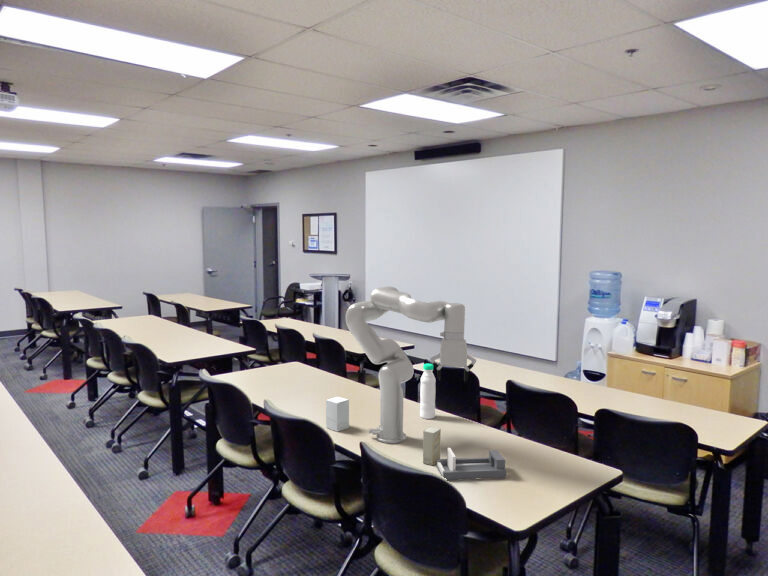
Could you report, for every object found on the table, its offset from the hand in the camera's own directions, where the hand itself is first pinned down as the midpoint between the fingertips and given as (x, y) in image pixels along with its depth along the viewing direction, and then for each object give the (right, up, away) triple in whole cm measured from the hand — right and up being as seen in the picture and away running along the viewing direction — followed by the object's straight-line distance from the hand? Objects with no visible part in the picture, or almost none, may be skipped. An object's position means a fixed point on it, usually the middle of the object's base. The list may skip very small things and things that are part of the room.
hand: (452, 380), depth 196 cm
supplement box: (-46, -26, +28) cm, 60 cm away
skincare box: (-9, -29, -6) cm, 31 cm away
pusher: (+5, -29, -14) cm, 32 cm away
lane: (+5, -30, -14) cm, 33 cm away
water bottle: (-6, -25, +44) cm, 51 cm away
